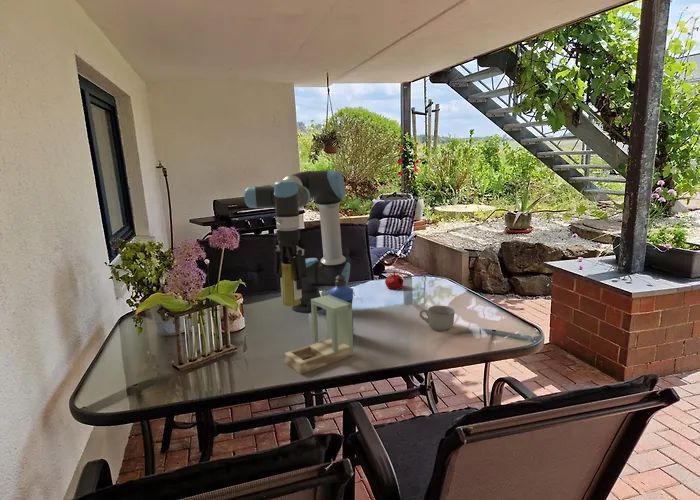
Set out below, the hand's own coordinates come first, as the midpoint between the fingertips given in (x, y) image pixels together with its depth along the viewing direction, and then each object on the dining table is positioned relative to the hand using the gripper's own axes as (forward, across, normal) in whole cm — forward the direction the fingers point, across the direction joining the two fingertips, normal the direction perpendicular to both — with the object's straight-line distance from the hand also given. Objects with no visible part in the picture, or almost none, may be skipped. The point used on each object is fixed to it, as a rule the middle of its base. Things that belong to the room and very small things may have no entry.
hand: (291, 296), depth 148 cm
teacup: (+23, +24, +57) cm, 66 cm away
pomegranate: (+23, -23, +95) cm, 100 cm away
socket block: (+23, +5, +6) cm, 25 cm away
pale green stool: (+23, +5, +14) cm, 28 cm away
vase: (+3, 0, 0) cm, 3 cm away
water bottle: (+23, -1, +27) cm, 35 cm away
